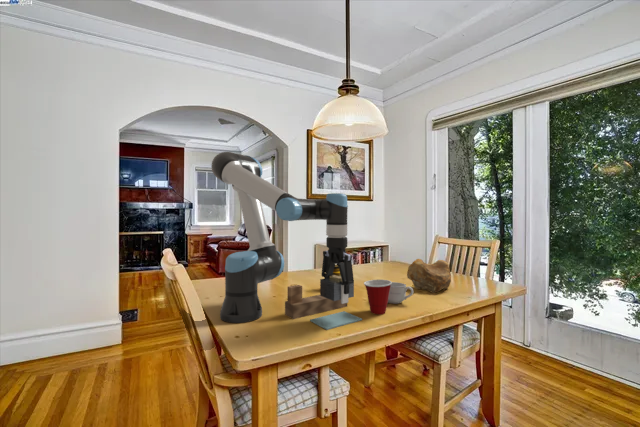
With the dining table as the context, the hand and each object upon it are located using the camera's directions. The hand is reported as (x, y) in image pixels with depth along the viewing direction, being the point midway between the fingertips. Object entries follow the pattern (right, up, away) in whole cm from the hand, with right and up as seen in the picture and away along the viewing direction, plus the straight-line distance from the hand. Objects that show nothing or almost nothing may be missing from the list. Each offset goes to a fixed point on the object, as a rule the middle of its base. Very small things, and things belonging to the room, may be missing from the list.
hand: (336, 299), depth 111 cm
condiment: (+1, -7, +43) cm, 44 cm away
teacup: (+27, -8, +22) cm, 36 cm away
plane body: (-7, -7, +11) cm, 15 cm away
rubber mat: (0, -8, 0) cm, 8 cm away
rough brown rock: (+51, -8, +44) cm, 68 cm away
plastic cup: (+16, -8, +10) cm, 21 cm away
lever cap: (0, +1, 0) cm, 1 cm away
